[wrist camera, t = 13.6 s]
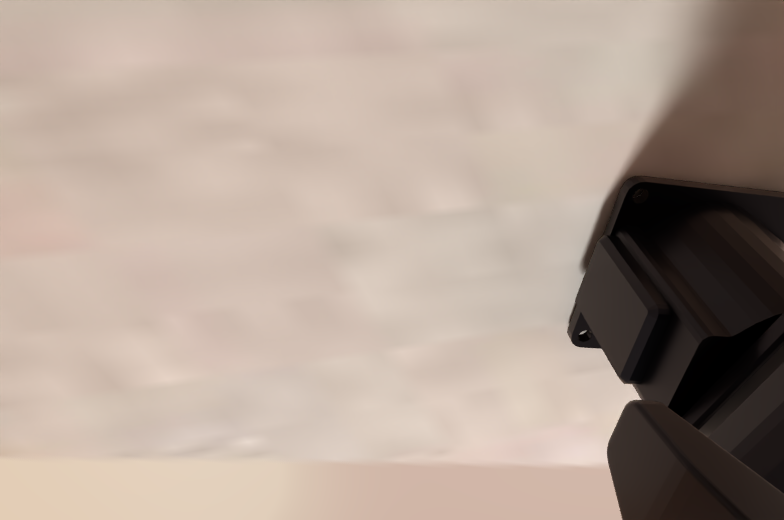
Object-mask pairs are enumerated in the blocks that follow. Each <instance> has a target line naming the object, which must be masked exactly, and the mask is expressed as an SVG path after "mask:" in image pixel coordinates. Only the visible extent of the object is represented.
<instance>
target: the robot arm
mask: <svg viewBox="0 0 784 520" xmlns="http://www.w3.org/2000/svg"><path fill="white" fill-rule="evenodd" d="M639 189H643V192H642V193H641V194H640V195H639V196H637V197H633V195H634V193H635V192H636V191H637V190H639ZM575 302H576V304H577V306H576V308H575V311H574V313H573V316H572V319H571V321H570V324H569V327H568V331H567V333H568V335H569V338H570V339H571V341H572V343H573V344H574V345H575V346H578V347H585V348H601V349H603V351H604V353H605V355H606V356H607V358H608V360H609V362H610V363H611V365H612V367H613V369H614V370H615V372H616V374H617V376H618V377H619V378H620V380H621V381H622V382H623V383H624V384H633V386H634V388H635V389H636V391H637V393H638V394H639V396H640V398H641V399H642V400H633V401H630V402H629V403H628V404H626V406H625V408H624V410H623V412H622V414H621V416H620V418H619V420H618V423H617V425H616V427H615V429H614V431H613V433H612V436H611V438H610V440H609V443H608V448H607V458H608V464H609V468H610V471H611V475H612V480H613V483H614V487H615V492H616V496H617V499H618V503H619V507H620V511H621V515H622V519H623V520H784V193H783V192H775V191H766V190H757V189H749V188H740V187H731V186H723V185H714V184H706V183H697V182H688V181H680V180H671V179H663V178H654V177H645V176H635V177H632V178H630V179H628V180H627V181H626V182H625V183H624V184H623V186H622V188H621V190H620V192H619V195H618V197H617V200H616V203H615V205H614V208H613V211H612V213H611V216H610V219H609V221H608V224H607V226H606V229H605V232H604V234H603V236H602V237H601V238H600V239H599V240H598V241H597V243H596V246H595V249H594V251H593V254H592V257H591V259H590V262H589V265H588V267H587V270H586V273H585V275H584V278H583V281H582V283H581V286H580V289H579V291H578V294H577V297H576V300H575ZM585 330H587V331H586V332H585V333H584V334H580V332H582V331H585ZM579 334H580V335H579Z"/></svg>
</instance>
